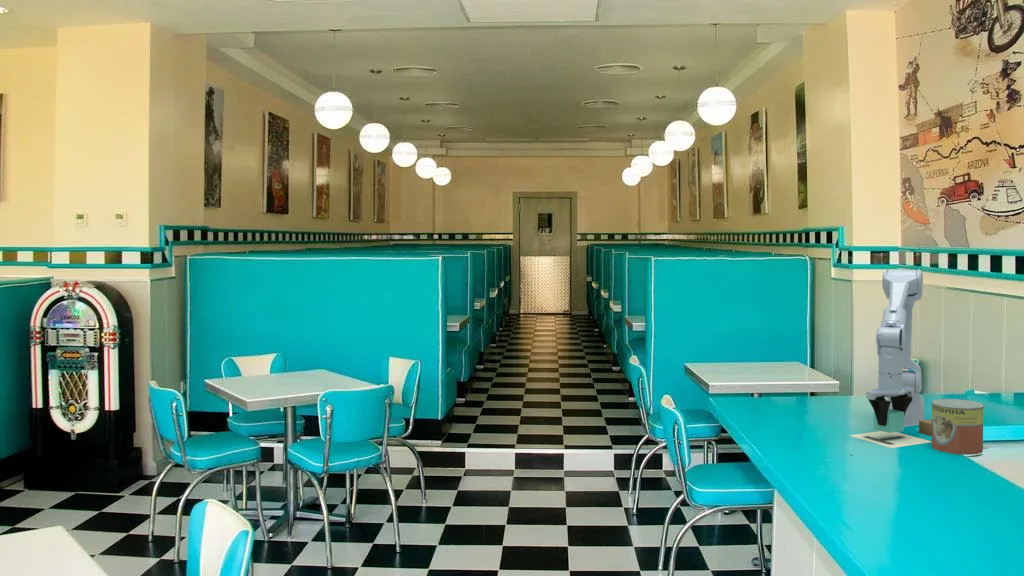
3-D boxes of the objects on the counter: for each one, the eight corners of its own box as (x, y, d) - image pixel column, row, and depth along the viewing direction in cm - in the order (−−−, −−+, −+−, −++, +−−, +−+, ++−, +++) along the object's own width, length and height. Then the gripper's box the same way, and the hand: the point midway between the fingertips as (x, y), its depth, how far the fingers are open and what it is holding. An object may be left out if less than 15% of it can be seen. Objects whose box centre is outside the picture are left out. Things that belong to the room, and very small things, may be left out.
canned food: (920, 448, 197) (921, 401, 196) (951, 443, 202) (952, 397, 201) (962, 459, 187) (962, 410, 186) (993, 453, 191) (994, 405, 191)
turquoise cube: (888, 426, 208) (888, 408, 208) (903, 430, 203) (904, 411, 203) (874, 428, 206) (874, 410, 206) (889, 432, 202) (889, 413, 201)
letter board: (888, 432, 214) (888, 429, 214) (932, 444, 201) (932, 441, 201) (848, 437, 209) (848, 435, 209) (891, 450, 196) (891, 448, 196)
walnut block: (918, 435, 210) (931, 433, 211) (929, 438, 207) (942, 437, 207) (918, 420, 210) (931, 419, 211) (930, 423, 206) (942, 422, 207)
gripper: (881, 377, 197) (881, 430, 198) (924, 372, 203) (923, 424, 203) (859, 373, 204) (859, 424, 205) (901, 368, 209) (901, 419, 210)
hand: (890, 424), depth 204 cm, fingers closed on turquoise cube, 5 cm apart
